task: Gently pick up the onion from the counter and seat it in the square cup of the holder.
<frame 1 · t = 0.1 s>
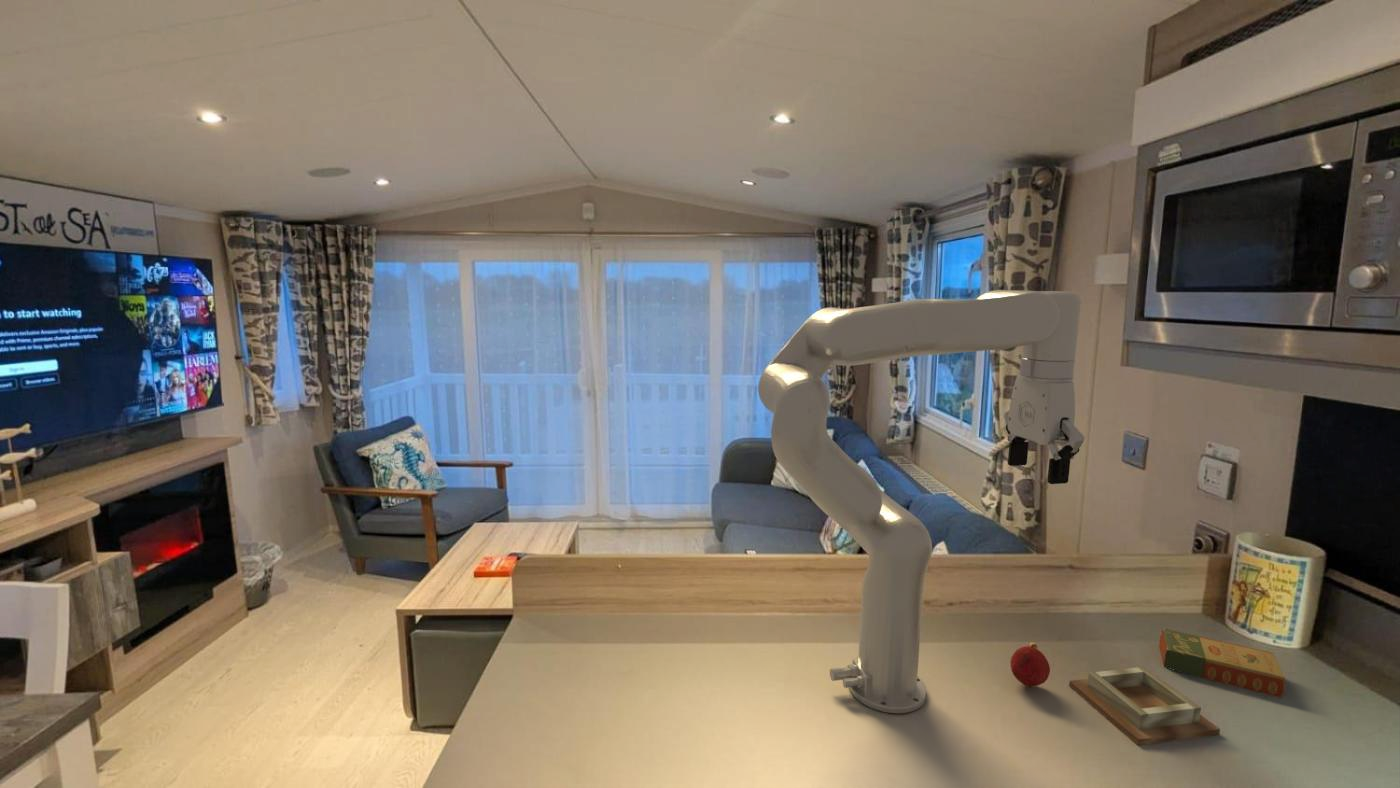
hand: (1036, 473, 103), 37 cm above the counter, tool pointing down, fingers open, 9 cm apart
holder: (1139, 709, 101), on the counter
onion: (1027, 687, 107), on the counter
carton: (1216, 672, 111), on the counter
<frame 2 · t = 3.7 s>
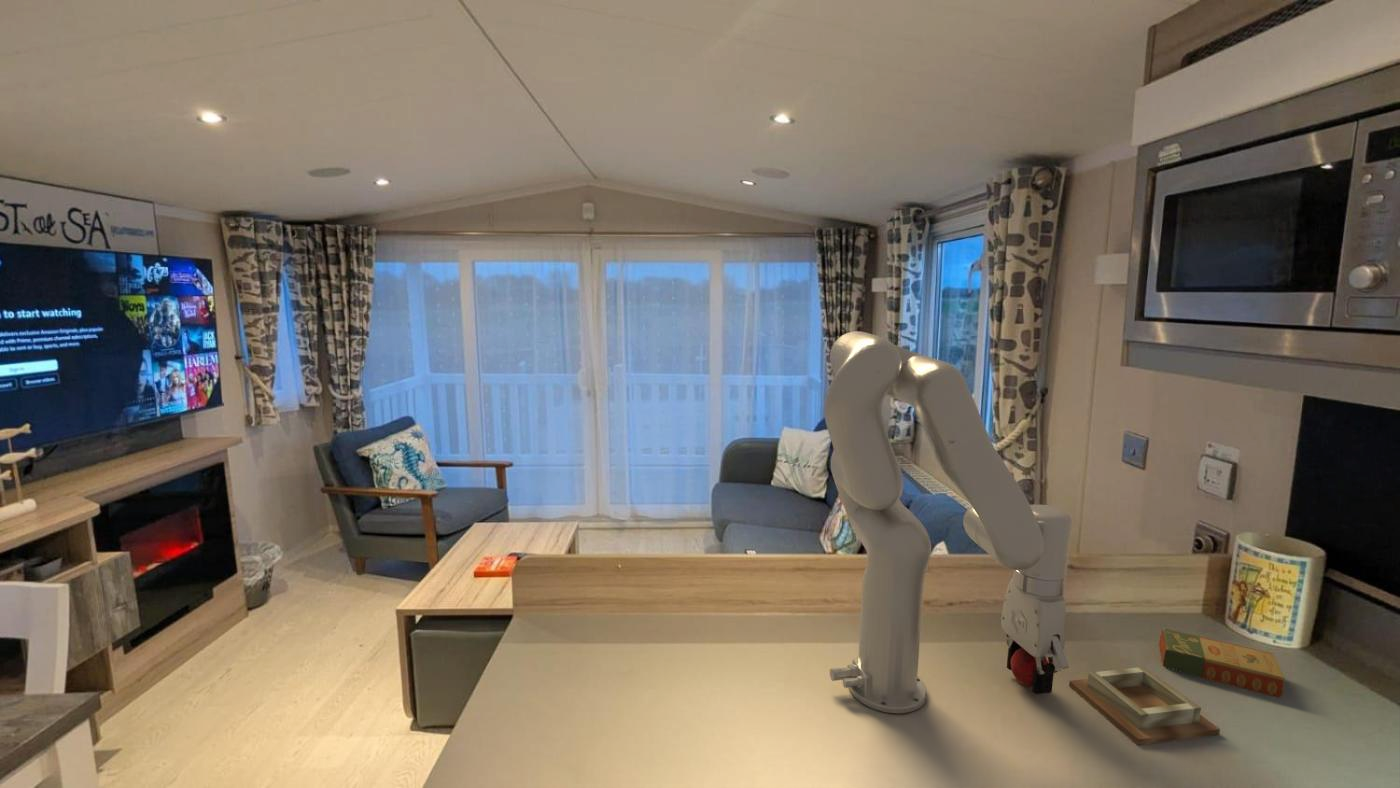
hand: (1028, 679, 107), 1 cm above the counter, tool pointing down, fingers closed on onion, 5 cm apart
onion: (1027, 687, 107), on the counter, touching gripper
everything else where it was.
when the fingers open (6 cm above the counter, at t = 8.9 s): onion drops 3 cm, resting on holder.
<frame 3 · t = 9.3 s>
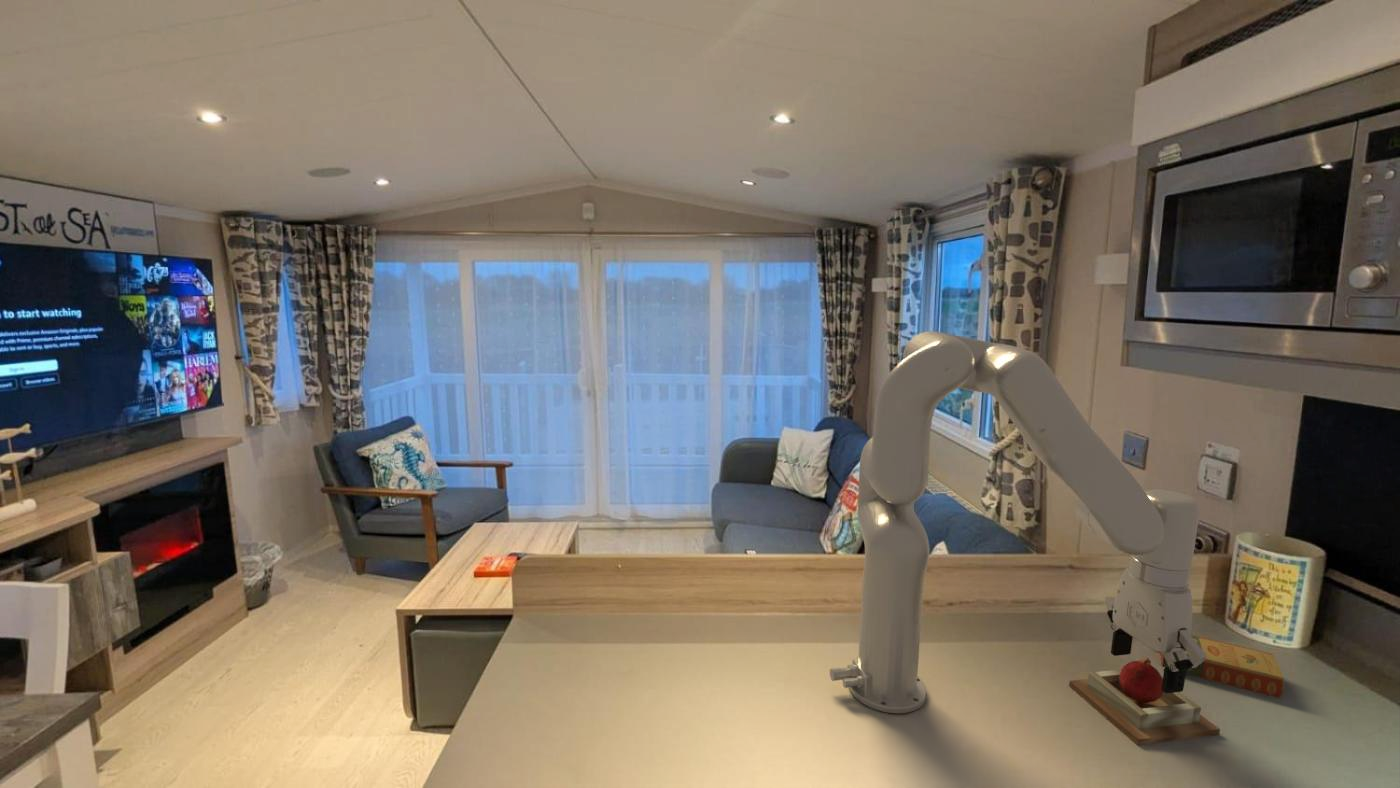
hand: (1145, 671, 100), 7 cm above the counter, tool pointing down, fingers open, 9 cm apart
onion: (1137, 702, 101), point 1 cm above the counter, touching holder
everything else where it was.
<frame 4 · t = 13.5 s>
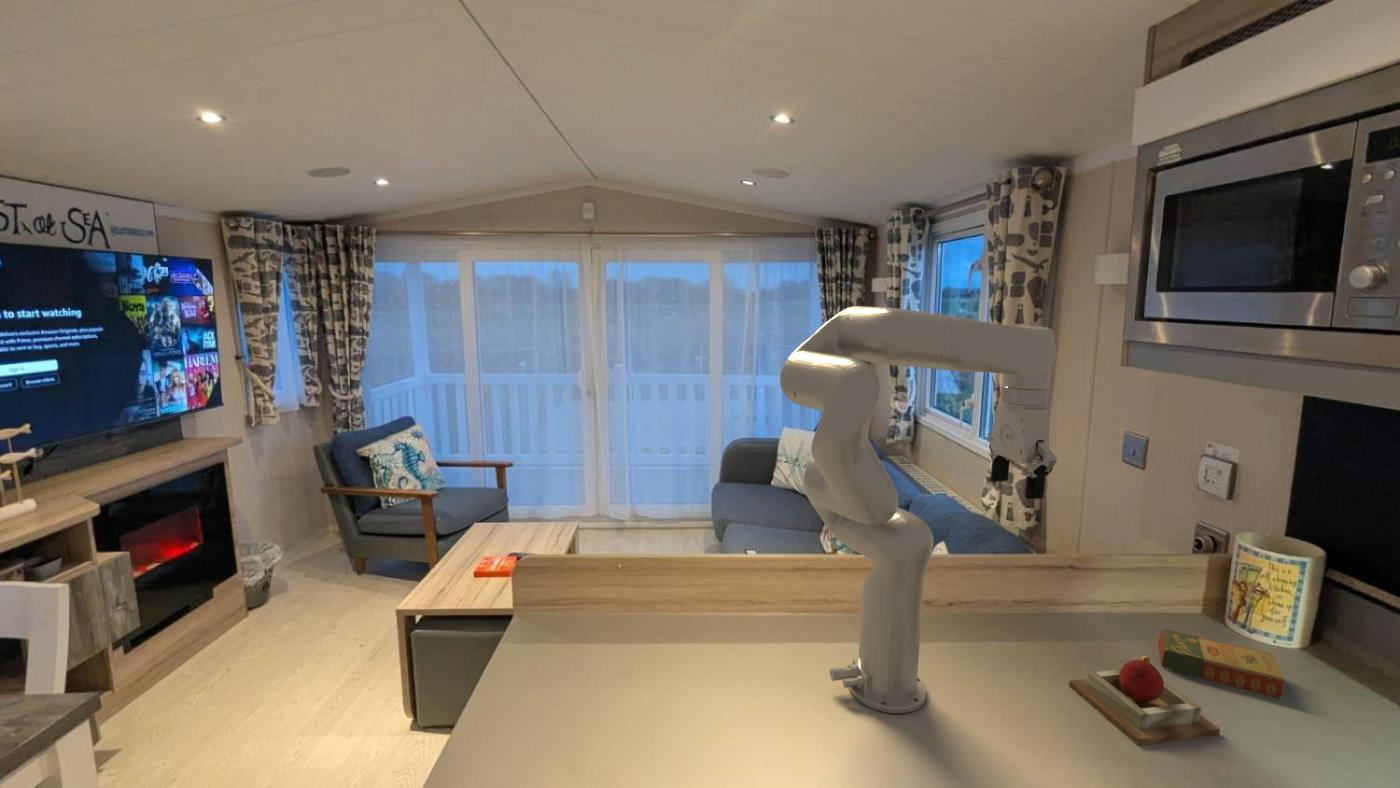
hand: (1015, 489, 115), 30 cm above the counter, tool pointing down, fingers open, 9 cm apart
nothing on the counter moved.
at the end: onion 0.4 cm off-centre on the holder, point 0.8 cm above the holder's base; the gripper is holding nothing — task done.
